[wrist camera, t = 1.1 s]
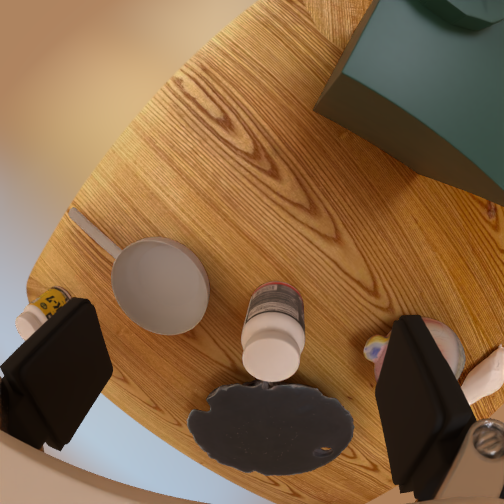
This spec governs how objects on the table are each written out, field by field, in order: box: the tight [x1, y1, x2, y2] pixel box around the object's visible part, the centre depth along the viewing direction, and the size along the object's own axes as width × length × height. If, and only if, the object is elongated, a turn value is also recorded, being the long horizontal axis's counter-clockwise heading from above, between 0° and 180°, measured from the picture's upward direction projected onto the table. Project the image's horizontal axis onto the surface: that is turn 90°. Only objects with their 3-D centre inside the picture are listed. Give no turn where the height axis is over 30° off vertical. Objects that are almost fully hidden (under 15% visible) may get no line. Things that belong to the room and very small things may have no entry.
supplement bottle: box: [15, 286, 71, 341], centre depth 34 cm, size 5×5×8 cm
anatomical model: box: [363, 317, 465, 383], centre depth 29 cm, size 10×12×10 cm
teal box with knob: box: [313, 0, 504, 207], centre depth 16 cm, size 12×11×19 cm
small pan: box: [69, 207, 210, 335], centre depth 32 cm, size 11×18×4 cm, turn 48°
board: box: [187, 380, 355, 476], centre depth 38 cm, size 22×22×5 cm
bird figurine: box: [461, 344, 504, 405], centre depth 32 cm, size 5×7×10 cm
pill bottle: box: [241, 281, 305, 382], centre depth 29 cm, size 6×6×10 cm
